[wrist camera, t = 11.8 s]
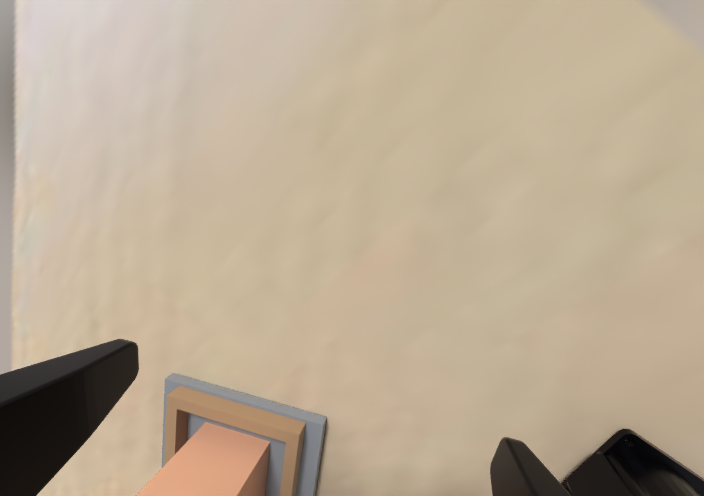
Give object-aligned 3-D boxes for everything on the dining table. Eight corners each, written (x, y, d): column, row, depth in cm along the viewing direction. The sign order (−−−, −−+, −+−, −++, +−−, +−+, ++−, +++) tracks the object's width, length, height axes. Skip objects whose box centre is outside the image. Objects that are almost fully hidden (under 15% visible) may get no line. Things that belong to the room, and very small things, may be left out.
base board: (326, 416, 23) (317, 437, 21) (309, 534, 25) (299, 563, 23) (172, 373, 25) (152, 388, 23) (168, 484, 27) (148, 507, 25)
